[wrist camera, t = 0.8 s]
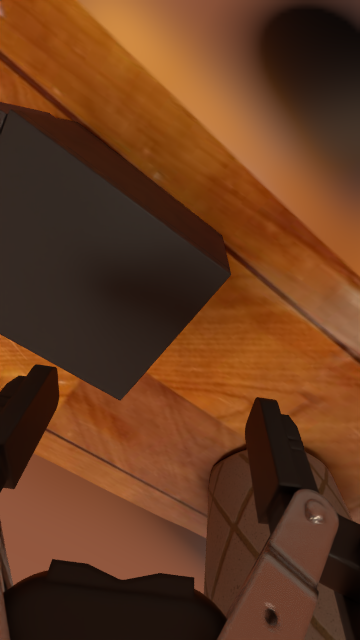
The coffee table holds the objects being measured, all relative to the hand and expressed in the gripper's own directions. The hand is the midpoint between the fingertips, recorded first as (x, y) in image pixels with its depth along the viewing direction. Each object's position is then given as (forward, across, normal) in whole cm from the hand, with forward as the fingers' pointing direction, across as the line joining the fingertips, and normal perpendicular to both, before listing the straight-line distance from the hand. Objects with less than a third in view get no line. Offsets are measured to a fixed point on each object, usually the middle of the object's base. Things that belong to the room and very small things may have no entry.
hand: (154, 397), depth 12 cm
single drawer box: (+19, +6, +1) cm, 20 cm away
